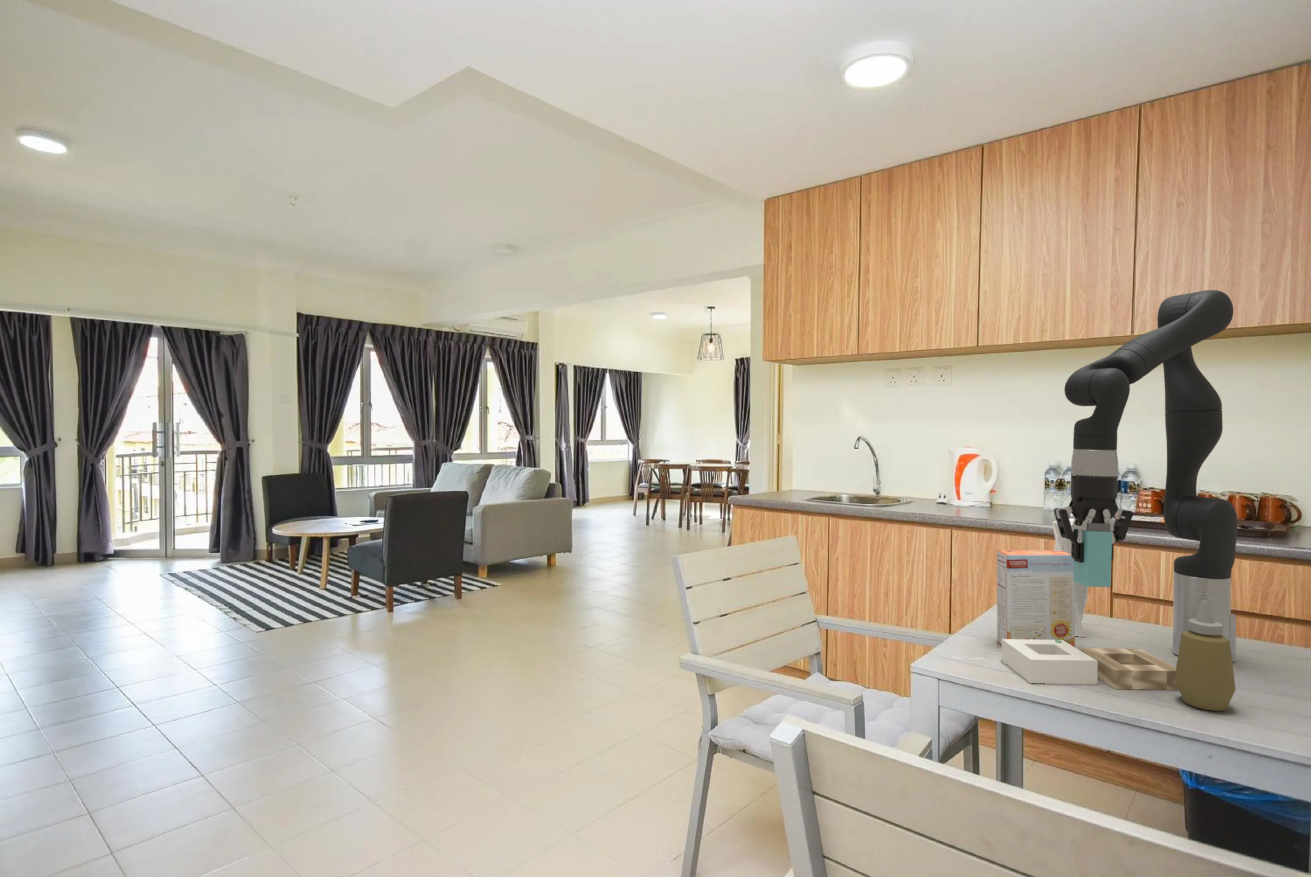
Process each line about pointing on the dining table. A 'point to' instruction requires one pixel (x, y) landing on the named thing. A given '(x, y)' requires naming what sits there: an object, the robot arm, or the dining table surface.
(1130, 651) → the wooden square frame
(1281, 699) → the dining table surface
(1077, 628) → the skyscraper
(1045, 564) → the cracker box
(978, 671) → the dining table surface
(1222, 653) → the squeeze bottle
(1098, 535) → the plug
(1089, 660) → the port block
